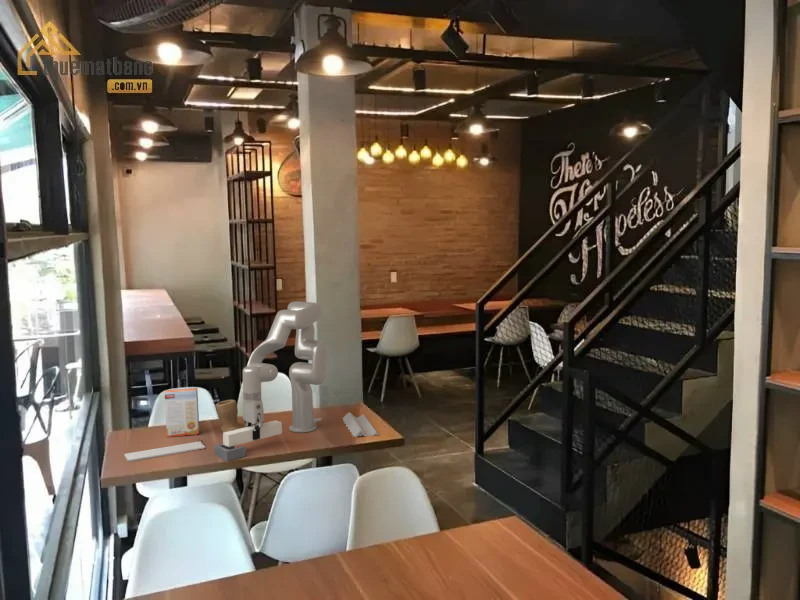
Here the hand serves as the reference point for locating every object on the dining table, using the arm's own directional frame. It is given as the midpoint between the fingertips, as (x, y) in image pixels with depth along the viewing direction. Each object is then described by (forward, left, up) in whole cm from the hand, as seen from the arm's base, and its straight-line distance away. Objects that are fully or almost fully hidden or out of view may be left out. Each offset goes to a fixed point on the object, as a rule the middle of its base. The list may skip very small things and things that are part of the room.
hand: (253, 437), depth 279 cm
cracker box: (+12, -42, -5) cm, 44 cm away
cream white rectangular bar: (0, 0, -1) cm, 1 cm away
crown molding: (-53, +6, -6) cm, 54 cm away
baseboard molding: (+28, -25, -6) cm, 38 cm away
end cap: (+11, 0, -5) cm, 12 cm away
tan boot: (-5, -29, -6) cm, 30 cm away
